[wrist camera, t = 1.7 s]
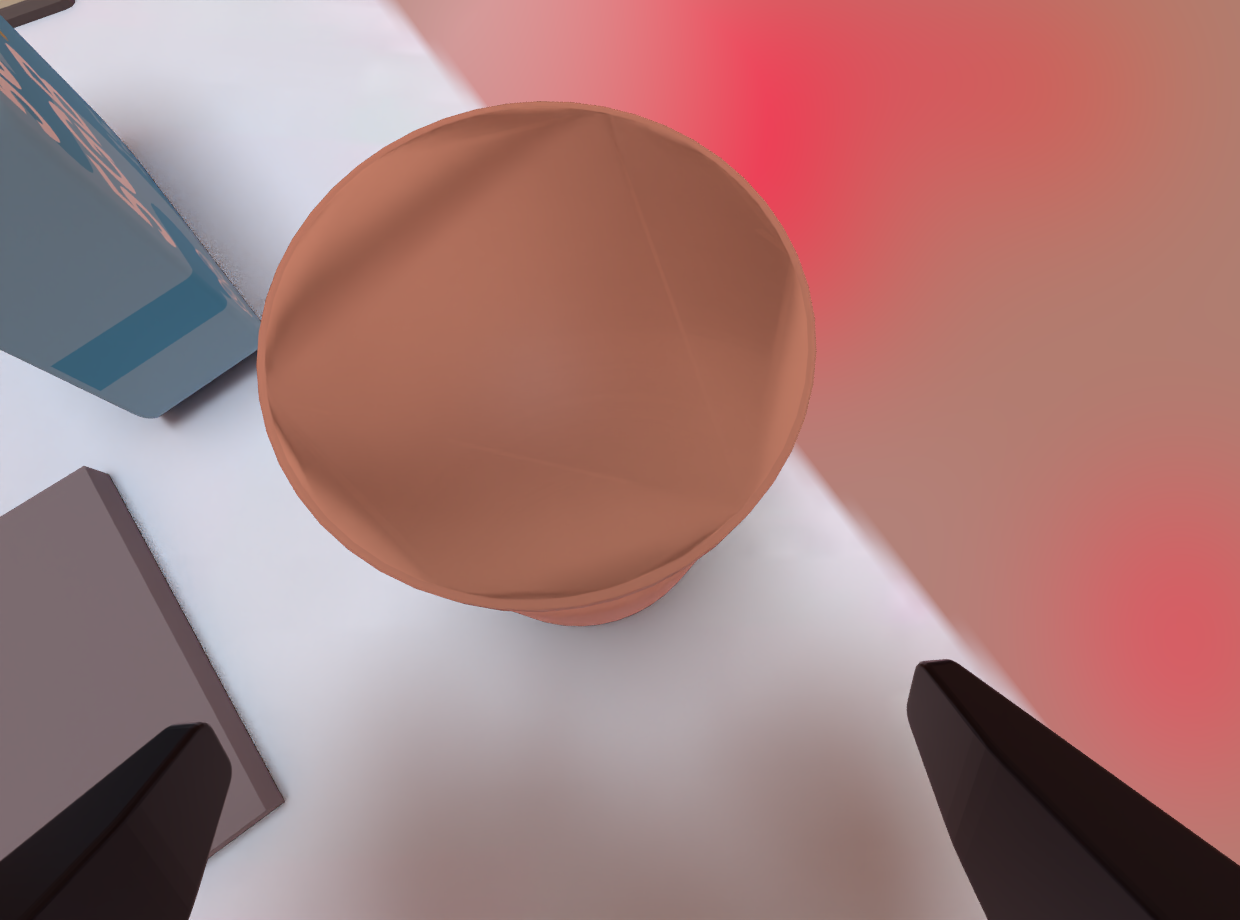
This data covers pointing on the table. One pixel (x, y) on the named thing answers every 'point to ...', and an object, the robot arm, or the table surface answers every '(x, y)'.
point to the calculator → (31, 10)
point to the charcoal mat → (98, 661)
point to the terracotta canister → (537, 358)
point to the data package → (101, 255)
